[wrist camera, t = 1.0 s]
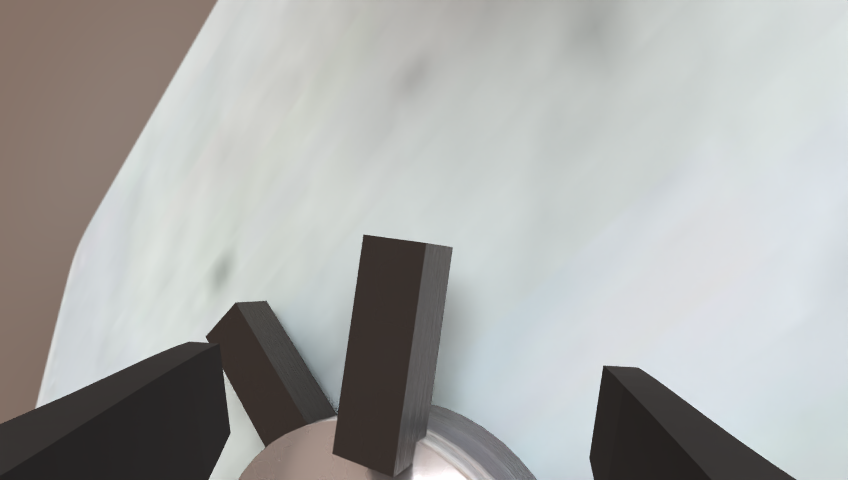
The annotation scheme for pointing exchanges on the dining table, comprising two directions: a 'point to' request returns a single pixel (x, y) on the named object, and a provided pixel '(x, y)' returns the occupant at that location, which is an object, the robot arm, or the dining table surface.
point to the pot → (304, 400)
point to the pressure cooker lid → (380, 380)
